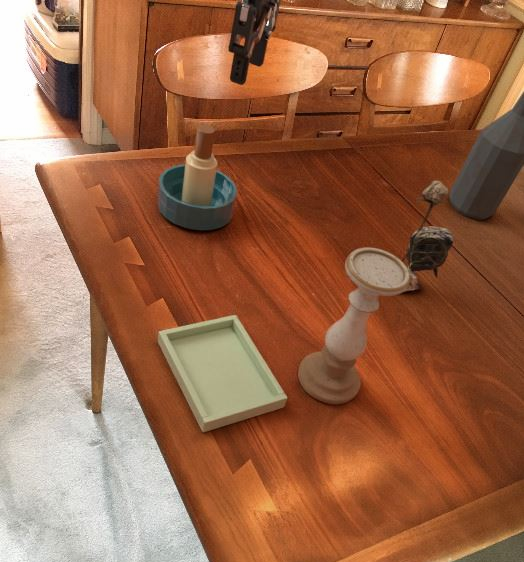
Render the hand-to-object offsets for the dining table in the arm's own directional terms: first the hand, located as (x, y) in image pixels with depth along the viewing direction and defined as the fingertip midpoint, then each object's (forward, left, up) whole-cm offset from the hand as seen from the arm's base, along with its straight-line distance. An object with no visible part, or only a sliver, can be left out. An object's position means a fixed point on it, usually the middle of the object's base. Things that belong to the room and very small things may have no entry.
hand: (246, 73), depth 82 cm
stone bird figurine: (+34, -1, -24) cm, 42 cm away
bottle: (+45, +33, -24) cm, 61 cm away
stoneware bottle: (-4, -2, -24) cm, 24 cm away
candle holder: (+27, -29, -24) cm, 47 cm away
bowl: (-4, -2, -24) cm, 25 cm away
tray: (+13, -35, -24) cm, 45 cm away
